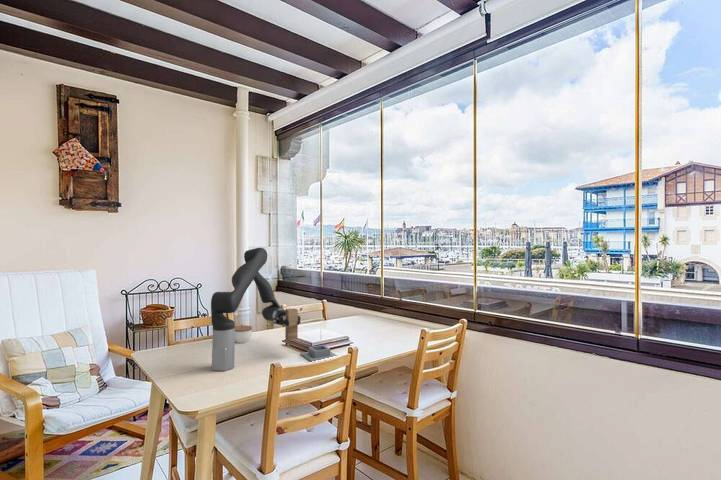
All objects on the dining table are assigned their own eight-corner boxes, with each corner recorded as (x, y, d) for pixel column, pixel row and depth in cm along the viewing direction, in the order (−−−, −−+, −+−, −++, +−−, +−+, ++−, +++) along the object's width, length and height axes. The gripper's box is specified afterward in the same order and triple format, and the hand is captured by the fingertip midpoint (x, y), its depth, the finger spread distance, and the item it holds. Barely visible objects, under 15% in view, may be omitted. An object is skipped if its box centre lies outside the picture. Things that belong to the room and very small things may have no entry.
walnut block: (297, 339, 186) (297, 309, 186) (288, 340, 184) (288, 310, 184) (294, 337, 190) (294, 308, 190) (285, 338, 188) (285, 309, 188)
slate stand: (338, 358, 186) (338, 349, 186) (311, 362, 179) (311, 353, 179) (326, 350, 198) (326, 342, 198) (300, 354, 191) (300, 346, 191)
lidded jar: (255, 339, 218) (255, 323, 218) (245, 344, 208) (245, 327, 208) (238, 338, 221) (239, 321, 221) (227, 343, 211) (227, 326, 211)
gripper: (268, 310, 196) (279, 316, 181) (295, 308, 203) (307, 313, 188) (268, 325, 196) (278, 332, 181) (295, 322, 203) (307, 329, 188)
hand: (293, 323), depth 185 cm, fingers closed on walnut block, 4 cm apart
